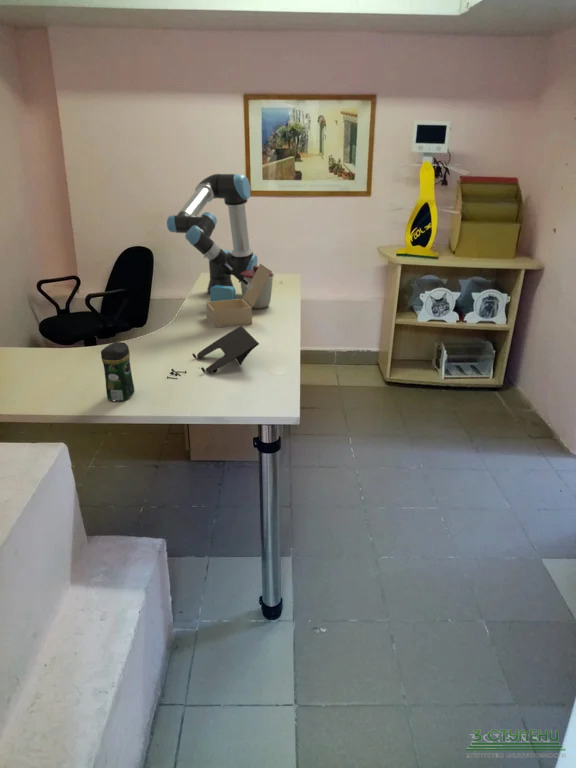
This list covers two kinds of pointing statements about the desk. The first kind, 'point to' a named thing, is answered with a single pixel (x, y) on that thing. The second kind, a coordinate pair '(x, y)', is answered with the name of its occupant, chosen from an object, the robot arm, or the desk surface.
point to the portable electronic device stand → (230, 348)
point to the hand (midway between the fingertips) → (251, 287)
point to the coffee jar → (117, 371)
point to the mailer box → (229, 313)
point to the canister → (265, 293)
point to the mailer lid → (257, 284)
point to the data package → (222, 293)
